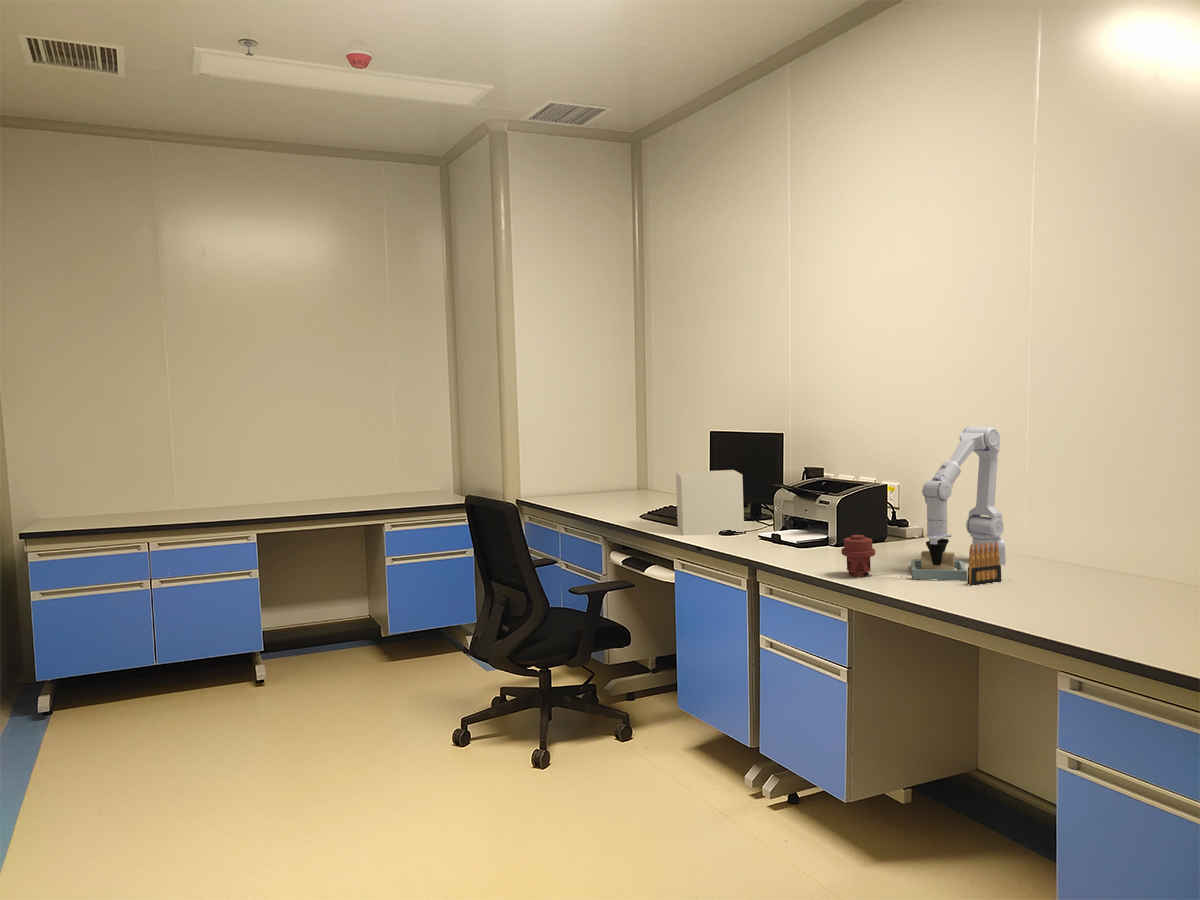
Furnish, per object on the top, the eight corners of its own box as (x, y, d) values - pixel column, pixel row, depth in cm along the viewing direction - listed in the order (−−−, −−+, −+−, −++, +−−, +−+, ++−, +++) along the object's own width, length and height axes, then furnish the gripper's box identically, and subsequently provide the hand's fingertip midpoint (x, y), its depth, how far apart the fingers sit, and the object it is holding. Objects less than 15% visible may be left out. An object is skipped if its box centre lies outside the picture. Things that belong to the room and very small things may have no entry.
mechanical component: (873, 572, 269) (877, 579, 259) (840, 571, 271) (843, 578, 261) (873, 533, 268) (876, 538, 258) (840, 533, 270) (842, 538, 260)
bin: (962, 570, 266) (962, 560, 266) (967, 581, 252) (966, 571, 252) (910, 569, 271) (910, 559, 271) (912, 579, 257) (912, 569, 256)
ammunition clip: (971, 585, 246) (971, 544, 245) (967, 584, 248) (966, 543, 247) (1001, 582, 249) (1001, 541, 249) (997, 580, 251) (996, 540, 250)
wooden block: (923, 568, 265) (922, 550, 264) (954, 570, 260) (954, 552, 260) (921, 570, 262) (921, 552, 262) (953, 572, 258) (952, 554, 257)
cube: (735, 526, 372) (733, 469, 370) (744, 534, 351) (742, 474, 349) (677, 528, 372) (675, 472, 370) (683, 536, 351) (681, 477, 349)
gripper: (947, 523, 252) (948, 569, 253) (954, 516, 264) (955, 560, 265) (922, 522, 256) (922, 567, 256) (930, 515, 268) (931, 558, 269)
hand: (937, 563), depth 261 cm, fingers closed on wooden block, 3 cm apart
